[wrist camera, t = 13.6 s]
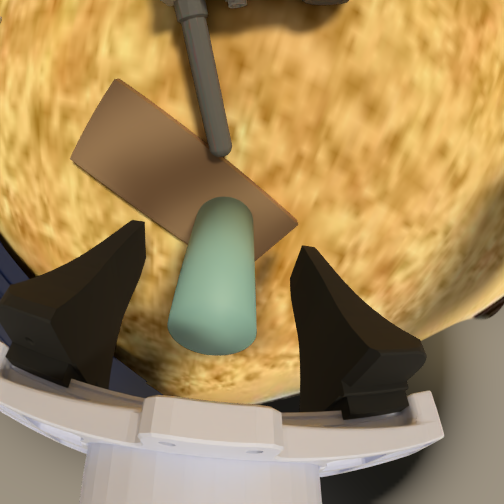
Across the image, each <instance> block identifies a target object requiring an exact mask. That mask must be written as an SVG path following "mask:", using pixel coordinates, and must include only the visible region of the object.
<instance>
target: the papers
mask: <svg viewBox="0 0 504 504" xmlns="http://www.w3.org/2000/svg"><path fill="white" fill-rule="evenodd" d="M25 280H29V278H28V277H27V275H26V274H25V273H24V272H23V271H22V270H21V268H20V267H19V266H18V265H17V264H16V262H15V261H14V260H13V259H12V257H11V256H10V255H9V254H8V252H7V251H6V250H5V248H4V247H3V244H2V243H1V241H0V300H1V298H2V297H3V295H4V294H5V292H6V291H7V289H8V288H9V286H10V285H12V284H15V283H19V282H22V281H25ZM0 341H1V342H3V343H4V344H6V345H7V346H8V347H9V348H10V346H11V344H12V341H11V339H10V338H9V336H8V335H7V333H6V332H5V330H4V328H3V327H2V325H1V324H0ZM145 382H147V381H146V380H144V379H143V378H142V377H140V376H139V375H137V374H136V373H135V372H133V371H132V370H131V369H129V368H128V367H127V366H126V365H124V364H123V363H122V362H120V361H119V360H118V359H117V358H115V357H114V356H113V362H112V368H111V374H110V381H109V390H111V391H115V392H119V393H123V394H127V395H132V396H136V397H141V398H145V399H146V398H148V397H151V396H156V395H163V394H161V393H160V392H158V391H157V390H155V389H154V388H152V387H151V386H149V385H148V384H146V383H145Z"/></svg>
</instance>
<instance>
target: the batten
mask: <svg viewBox="0 0 504 504" xmlns="http://www.w3.org/2000/svg"><path fill="white" fill-rule="evenodd" d="M70 159H71V160H72V161H73V162H75V163H76V164H77V165H79V166H80V167H81V168H83V169H84V170H85V171H87V172H88V173H89V174H91V175H92V176H93V177H95V178H96V179H97V180H99V181H100V182H101V183H103V184H104V185H105V186H107V187H108V188H110V189H111V190H112V191H114V192H115V193H116V194H118V195H119V196H120V197H122V198H123V199H125V200H126V201H127V202H129V203H130V204H132V205H133V206H134V207H136V208H137V209H138V210H140V211H141V212H143V213H144V214H145V215H147V216H148V217H150V218H151V219H152V220H154V221H155V222H157V223H158V224H160V225H161V226H162V227H164V228H165V229H167V230H168V231H170V232H171V233H172V234H174V235H175V236H177V237H178V238H180V239H181V240H182V241H184V242H185V243H187V244H188V243H189V240H190V236H191V233H192V230H193V226H194V223H195V220H196V216H197V213H198V211H199V209H200V208H201V206H202V205H203V204H204V203H205V202H207V201H209V200H211V199H213V198H216V197H232V198H235V199H237V200H239V201H241V202H243V203H244V204H245V205H246V206H247V207H248V208H249V210H250V211H251V213H252V216H253V229H254V262H255V261H256V260H257V259H258V258H259V257H261V256H262V255H263V254H264V253H265V252H266V251H268V250H269V249H270V248H271V247H272V246H274V245H275V244H276V243H277V242H278V241H280V240H281V239H282V238H283V237H284V236H286V235H287V234H288V233H289V232H290V231H291V230H293V229H294V228H295V227H296V226H297V225H298V222H297V220H296V219H295V218H294V217H293V216H292V215H291V214H290V213H288V212H287V211H286V210H285V209H284V208H283V207H282V206H280V205H279V204H278V203H277V202H276V201H275V200H274V199H272V198H271V197H270V196H269V195H268V194H267V193H266V192H264V191H263V190H262V189H261V188H260V187H259V186H257V185H256V184H255V183H254V182H253V181H252V180H250V179H249V178H248V177H247V176H246V175H244V174H243V173H242V172H241V171H240V170H238V169H237V168H236V167H235V166H234V165H232V164H231V163H230V162H229V161H227V160H226V159H225V158H224V157H216V156H214V155H213V154H212V153H211V152H210V149H209V145H208V144H206V143H205V142H204V141H203V140H201V139H200V138H199V137H198V136H196V135H195V134H194V133H192V132H191V131H190V130H189V129H187V128H186V127H185V126H183V125H182V124H181V123H179V122H178V121H177V120H175V119H174V118H173V117H171V116H170V115H169V114H168V113H166V112H165V111H163V110H162V109H161V108H159V107H158V106H157V105H155V104H154V103H153V102H151V101H150V100H149V99H147V98H146V97H144V96H143V95H142V94H140V93H139V92H137V91H136V90H135V89H133V88H132V87H130V86H129V85H127V84H126V83H125V82H123V81H122V80H120V79H114V81H113V82H112V84H111V86H110V87H109V89H108V90H107V92H106V93H105V95H104V96H103V98H102V100H101V101H100V103H99V105H98V106H97V108H96V110H95V111H94V113H93V115H92V117H91V118H90V120H89V122H88V124H87V126H86V128H85V129H84V131H83V133H82V135H81V137H80V139H79V141H78V143H77V145H76V147H75V149H74V151H73V153H72V155H71V158H70Z"/></svg>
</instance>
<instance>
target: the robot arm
mask: <svg viewBox="0 0 504 504" xmlns="http://www.w3.org/2000/svg"><path fill="white" fill-rule="evenodd" d="M145 259H146V248H145V222H142V221H135V220H132V221H130V222H129V223H127V224H126V225H124V226H123V227H122V228H120V229H119V230H118V231H116V232H115V233H114V234H112V235H111V236H109V237H108V238H107V239H105V240H104V241H103V242H101V243H100V244H98V245H97V246H95V247H94V248H92V249H91V250H89V251H88V252H86V253H85V254H83V255H81V256H80V257H78V258H76V259H74V260H72V261H71V262H69V263H67V264H65V265H63V266H61V267H58V268H56V269H54V270H52V271H50V272H48V273H45V274H43V275H40V276H37V277H35V278H32V279H29V280H25V281H22V282H19V283H15V284H12V285H10V286H9V288H8V289H7V291H6V292H5V294H4V295H3V297H2V298H1V300H0V324H1V325H2V327H3V328H4V330H5V332H6V333H7V335H8V336H9V338H10V339H11V341H12V344H11V346H10V348H9V347H8V346H7V345H6V344H4V343H3V342H1V341H0V411H1V412H2V413H4V414H6V415H7V416H9V417H11V418H12V419H14V420H16V421H18V422H19V423H21V424H23V425H25V426H27V427H28V428H30V429H32V430H34V431H36V432H38V433H40V434H42V435H44V436H46V437H48V438H50V439H52V440H54V441H57V442H59V443H61V444H63V445H66V446H68V447H70V448H72V449H75V450H77V451H80V452H82V453H85V454H87V456H86V461H85V467H84V473H83V480H82V487H81V494H80V504H322V500H321V488H320V478H319V477H324V476H329V475H335V474H340V473H344V472H350V471H354V470H358V469H362V468H366V467H370V466H374V465H377V464H381V463H385V462H388V461H392V460H395V459H398V458H402V457H405V456H408V455H410V454H412V453H415V452H417V451H419V450H421V449H423V448H425V447H427V446H429V445H430V444H432V443H434V442H436V441H438V440H440V439H441V438H443V437H444V433H443V429H442V425H441V422H440V419H439V416H438V412H437V409H436V406H435V403H434V400H433V397H432V394H431V391H424V392H419V393H414V394H411V395H409V396H406V393H405V390H407V389H408V384H407V380H408V379H409V378H411V377H412V376H413V375H414V374H415V373H416V372H417V371H418V370H419V369H420V368H421V367H422V366H423V364H424V363H425V361H426V353H425V351H424V348H423V346H422V344H421V341H420V339H418V338H416V337H414V336H412V335H411V334H409V333H407V332H405V331H403V330H402V329H400V328H398V327H397V326H395V325H394V324H392V323H391V322H389V321H388V320H387V319H385V318H384V317H382V316H381V315H380V314H379V313H377V312H376V311H375V310H373V309H372V308H371V307H370V306H369V305H367V304H366V303H365V302H364V301H363V300H362V299H361V298H360V297H359V296H358V295H357V294H356V293H355V292H354V291H353V290H352V289H351V288H350V287H349V286H348V285H347V284H346V283H345V282H344V281H343V280H342V279H341V278H340V276H339V275H338V274H337V273H336V272H335V271H334V269H333V268H332V267H331V266H330V265H329V263H328V262H327V261H326V260H325V259H324V257H323V256H322V255H321V254H320V253H319V252H318V250H317V249H316V248H315V247H309V246H303V245H302V247H301V250H300V253H299V256H298V258H297V261H296V264H295V266H294V269H293V272H292V274H291V277H290V291H291V301H292V306H293V312H294V317H295V322H296V328H297V333H298V340H299V352H300V408H299V413H281V412H279V411H278V410H276V409H273V408H272V407H269V406H262V405H254V404H238V403H226V402H215V401H206V400H198V399H190V398H183V397H177V396H166V395H156V396H151V397H148V398H146V399H145V398H141V397H136V396H132V395H127V394H123V393H119V392H115V391H111V390H109V381H110V374H111V368H112V362H113V356H114V351H115V347H116V342H117V338H118V334H119V330H120V326H121V322H122V319H123V316H124V314H125V311H126V309H127V306H128V304H129V301H130V299H131V297H132V294H133V292H134V290H135V287H136V285H137V283H138V281H139V278H140V276H141V273H142V269H143V266H144V263H145Z"/></svg>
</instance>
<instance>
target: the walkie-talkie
mask: <svg viewBox="0 0 504 504" xmlns="http://www.w3.org/2000/svg"><path fill="white" fill-rule="evenodd" d="M160 1H162V2H163V3H165V4H166V5H168V6H173V5H174V7H175V12H176V16H177V21H178V22H179V23H181V24H182V29H183V34H184V39H185V43H186V48H187V53H188V57H189V62H190V66H191V71H192V75H193V80H194V84H195V89H196V93H197V98H198V102H199V106H200V111H201V115H202V119H203V124H204V128H205V132H206V137H207V141H208V145H209V149H210V152H211V153H212V154H213V155H214V156H216V157H224V156H226V155H228V154H229V153H230V151H231V148H232V143H231V138H230V133H229V129H228V124H227V119H226V114H225V109H224V104H223V99H222V94H221V90H220V85H219V80H218V75H217V70H216V65H215V60H214V56H213V51H212V46H211V41H210V36H209V31H208V26H207V22H206V18H207V16H208V11H207V7H206V2H205V0H160ZM302 1H304V2H305V3H308V4H313V5H333V4H342V3H346V2H348V1H349V0H302ZM225 2H228V7H229V8H240V7H244V6H246V5H247V0H225Z"/></svg>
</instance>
